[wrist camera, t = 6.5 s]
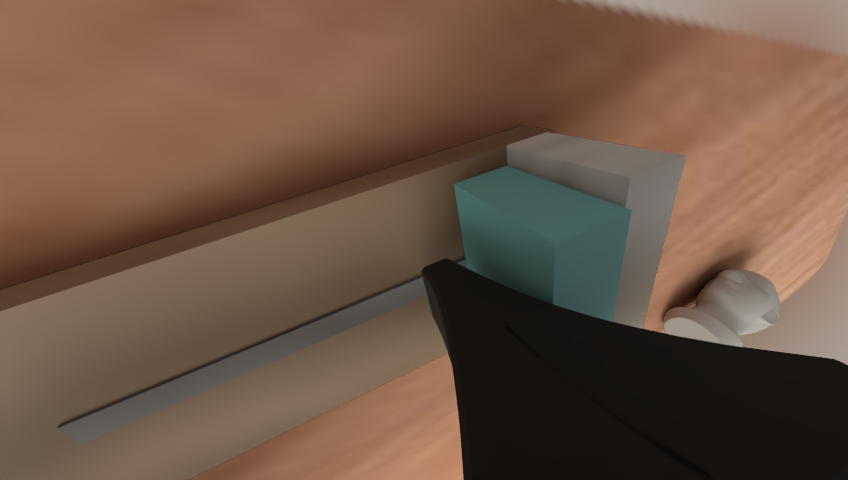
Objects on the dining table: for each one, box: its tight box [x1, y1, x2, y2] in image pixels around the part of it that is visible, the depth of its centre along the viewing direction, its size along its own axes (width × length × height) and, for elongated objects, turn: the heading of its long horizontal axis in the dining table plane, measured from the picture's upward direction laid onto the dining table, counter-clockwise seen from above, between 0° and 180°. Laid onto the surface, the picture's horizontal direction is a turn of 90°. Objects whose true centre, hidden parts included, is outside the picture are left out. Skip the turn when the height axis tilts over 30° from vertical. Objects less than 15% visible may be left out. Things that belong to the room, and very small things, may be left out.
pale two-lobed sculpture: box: [664, 269, 780, 347], centre depth 21 cm, size 4×8×5 cm
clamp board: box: [0, 125, 686, 480], centre depth 8 cm, size 8×19×6 cm, turn 102°
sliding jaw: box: [454, 166, 632, 321], centre depth 9 cm, size 6×2×4 cm, turn 12°
